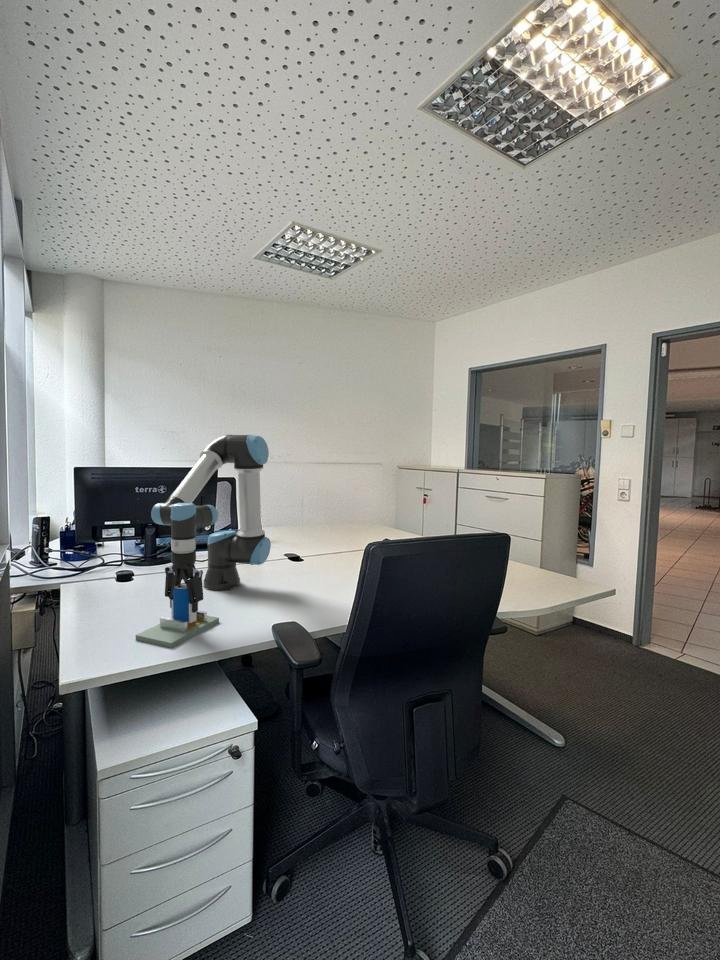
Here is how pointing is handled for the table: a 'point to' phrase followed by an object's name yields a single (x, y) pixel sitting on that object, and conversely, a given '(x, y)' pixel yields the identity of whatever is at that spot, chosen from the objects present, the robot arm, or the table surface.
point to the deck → (173, 633)
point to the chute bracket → (183, 622)
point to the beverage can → (181, 602)
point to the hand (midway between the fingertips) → (183, 619)
